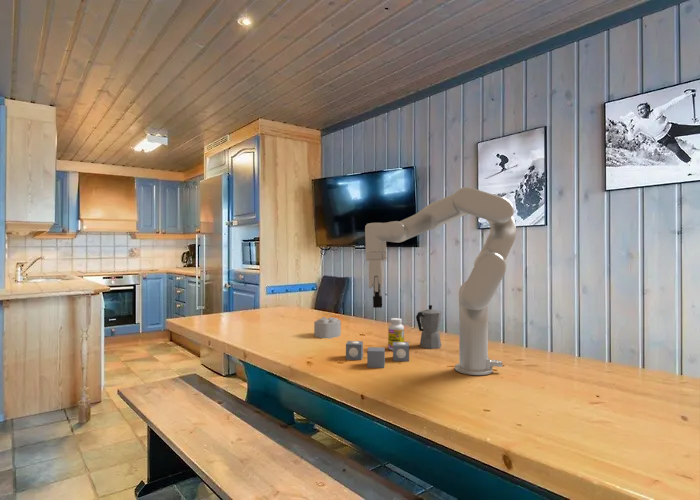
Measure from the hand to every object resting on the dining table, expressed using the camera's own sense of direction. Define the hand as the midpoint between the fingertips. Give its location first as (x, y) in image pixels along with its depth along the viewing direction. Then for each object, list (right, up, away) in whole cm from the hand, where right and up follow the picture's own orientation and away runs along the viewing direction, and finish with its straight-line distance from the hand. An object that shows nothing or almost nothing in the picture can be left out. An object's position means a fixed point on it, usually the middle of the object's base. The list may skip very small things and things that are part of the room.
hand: (377, 307), depth 156 cm
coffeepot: (+24, -21, +30) cm, 44 cm away
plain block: (-1, -21, 0) cm, 21 cm away
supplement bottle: (+9, -21, +25) cm, 34 cm away
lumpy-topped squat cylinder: (-20, -21, +54) cm, 61 cm away
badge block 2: (+10, -21, +9) cm, 25 cm away
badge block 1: (-8, -21, +11) cm, 25 cm away
